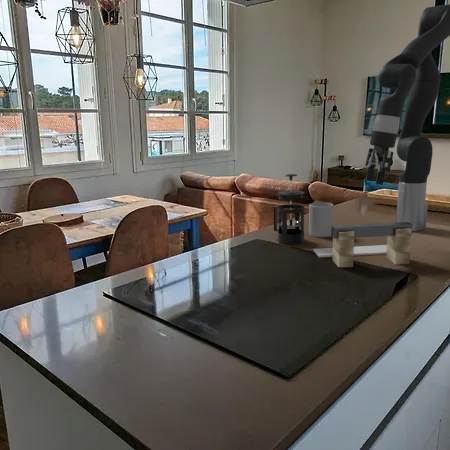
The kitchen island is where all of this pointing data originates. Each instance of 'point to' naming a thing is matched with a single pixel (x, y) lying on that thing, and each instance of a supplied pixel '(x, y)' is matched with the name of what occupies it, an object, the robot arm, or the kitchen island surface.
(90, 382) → the kitchen island surface
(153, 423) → the kitchen island surface
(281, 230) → the french press
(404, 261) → the post
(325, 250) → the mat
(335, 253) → the post
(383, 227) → the rail
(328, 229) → the mug
